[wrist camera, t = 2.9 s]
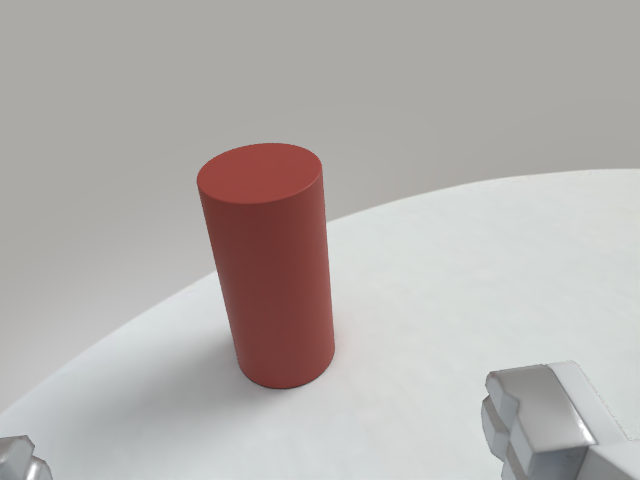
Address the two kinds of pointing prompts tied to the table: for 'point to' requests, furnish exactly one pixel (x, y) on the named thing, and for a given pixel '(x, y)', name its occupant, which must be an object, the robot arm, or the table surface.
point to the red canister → (272, 259)
